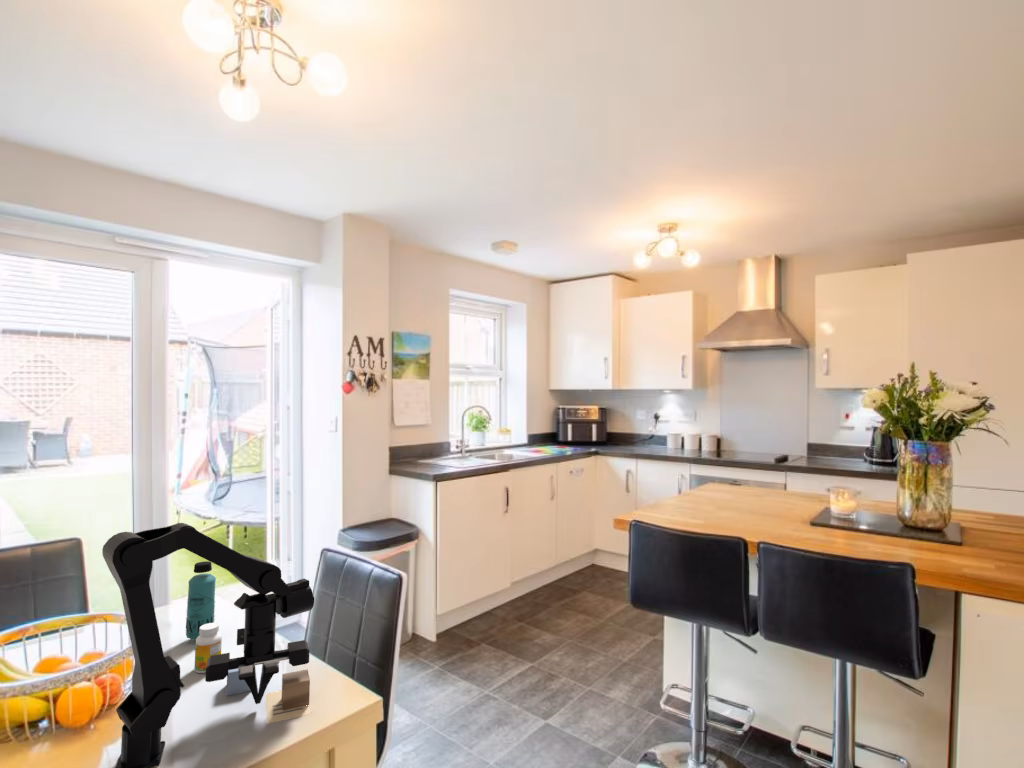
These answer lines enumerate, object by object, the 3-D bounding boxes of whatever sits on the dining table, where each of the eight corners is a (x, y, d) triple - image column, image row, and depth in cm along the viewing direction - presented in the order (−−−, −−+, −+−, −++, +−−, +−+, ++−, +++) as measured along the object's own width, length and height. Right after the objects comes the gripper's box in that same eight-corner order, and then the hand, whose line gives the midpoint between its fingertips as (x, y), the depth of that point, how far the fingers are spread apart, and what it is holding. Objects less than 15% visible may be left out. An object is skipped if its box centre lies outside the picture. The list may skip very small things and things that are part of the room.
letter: (310, 714, 107) (310, 713, 107) (266, 724, 104) (266, 723, 104) (305, 686, 118) (305, 685, 118) (265, 694, 114) (265, 693, 114)
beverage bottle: (186, 636, 142) (189, 560, 143) (215, 632, 145) (217, 557, 145) (183, 647, 136) (186, 567, 137) (213, 642, 139) (216, 564, 140)
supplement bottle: (189, 670, 124) (190, 627, 125) (211, 660, 129) (213, 619, 129) (203, 676, 122) (205, 632, 122) (225, 666, 127) (227, 624, 127)
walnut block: (309, 704, 110) (309, 680, 110) (282, 710, 108) (283, 685, 108) (306, 693, 115) (307, 669, 115) (281, 698, 113) (282, 673, 113)
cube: (252, 691, 116) (253, 668, 116) (226, 697, 113) (227, 673, 114) (252, 681, 120) (253, 658, 120) (227, 685, 118) (228, 662, 118)
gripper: (305, 604, 120) (303, 674, 120) (210, 617, 112) (208, 693, 112) (310, 622, 110) (308, 699, 110) (206, 638, 102) (203, 722, 102)
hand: (257, 702), depth 108 cm, fingers closed
